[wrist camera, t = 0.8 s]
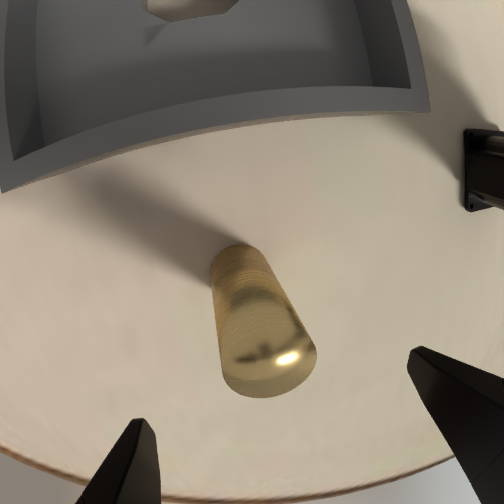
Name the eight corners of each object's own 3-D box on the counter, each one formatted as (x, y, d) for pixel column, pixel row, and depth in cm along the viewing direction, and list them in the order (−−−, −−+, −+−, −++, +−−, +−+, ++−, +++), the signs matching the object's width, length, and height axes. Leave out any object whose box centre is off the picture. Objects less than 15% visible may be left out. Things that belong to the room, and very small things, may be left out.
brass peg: (263, 239, 17) (314, 316, 9) (271, 291, 18) (317, 384, 11) (204, 251, 16) (212, 341, 9) (216, 303, 18) (233, 405, 10)
